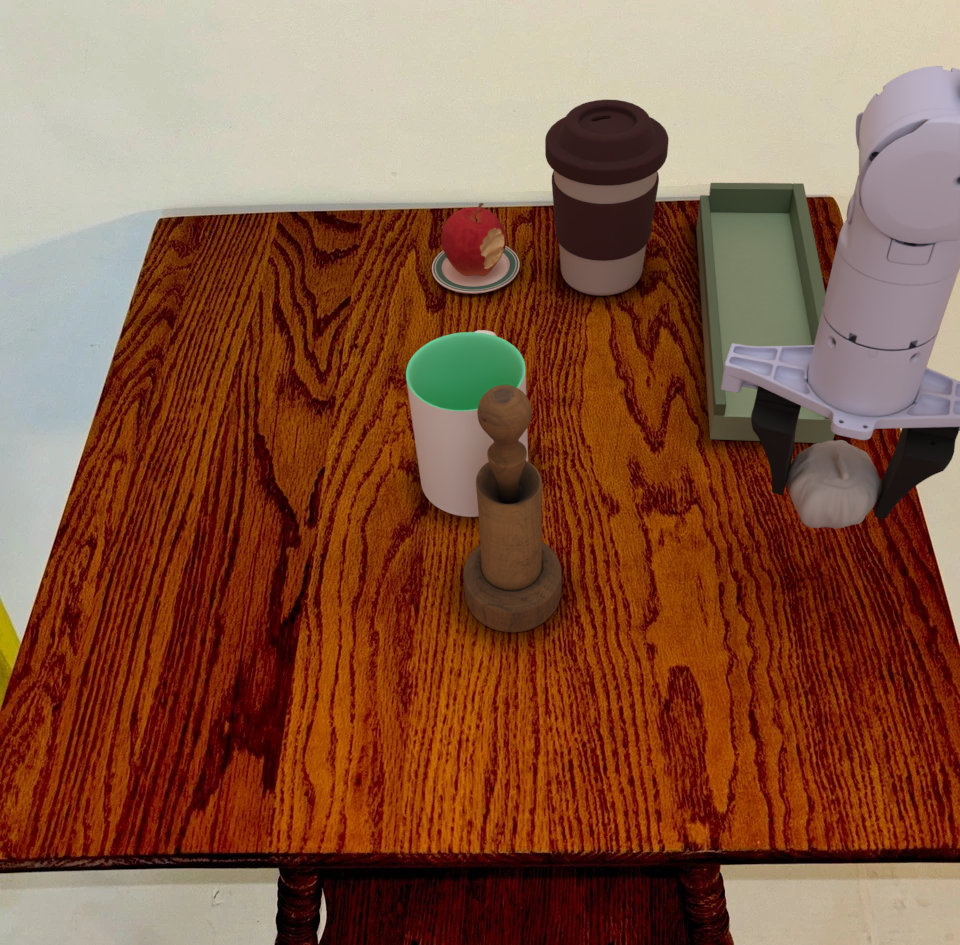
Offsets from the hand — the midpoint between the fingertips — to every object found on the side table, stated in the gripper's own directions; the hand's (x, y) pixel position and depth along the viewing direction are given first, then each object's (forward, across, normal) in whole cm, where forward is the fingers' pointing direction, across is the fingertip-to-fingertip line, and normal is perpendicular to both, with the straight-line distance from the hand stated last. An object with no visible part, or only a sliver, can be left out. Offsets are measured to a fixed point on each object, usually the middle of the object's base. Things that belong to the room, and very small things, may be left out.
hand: (829, 494), depth 62 cm
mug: (+9, -25, +4) cm, 27 cm away
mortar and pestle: (+9, -18, -7) cm, 21 cm away
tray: (+9, -8, +26) cm, 28 cm away
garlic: (+2, 0, 0) cm, 2 cm away
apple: (+9, -34, +26) cm, 44 cm away
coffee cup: (+9, -23, +29) cm, 38 cm away
